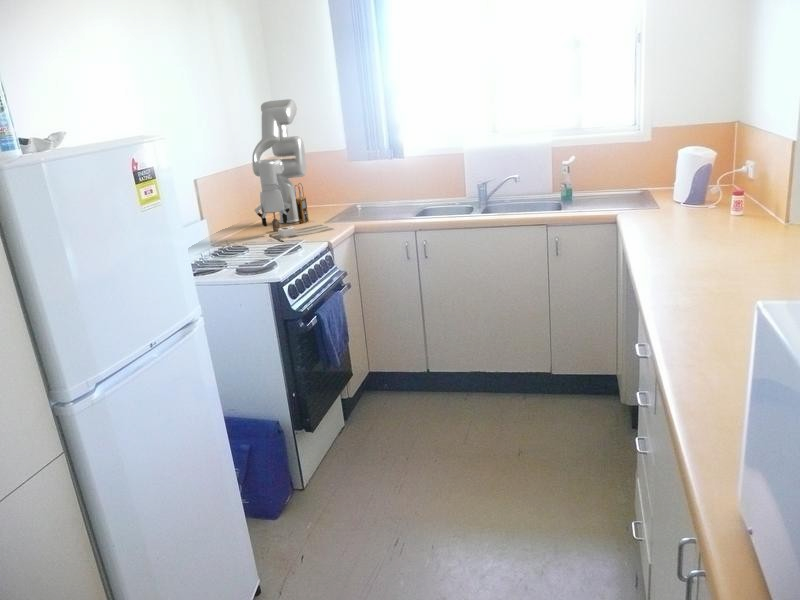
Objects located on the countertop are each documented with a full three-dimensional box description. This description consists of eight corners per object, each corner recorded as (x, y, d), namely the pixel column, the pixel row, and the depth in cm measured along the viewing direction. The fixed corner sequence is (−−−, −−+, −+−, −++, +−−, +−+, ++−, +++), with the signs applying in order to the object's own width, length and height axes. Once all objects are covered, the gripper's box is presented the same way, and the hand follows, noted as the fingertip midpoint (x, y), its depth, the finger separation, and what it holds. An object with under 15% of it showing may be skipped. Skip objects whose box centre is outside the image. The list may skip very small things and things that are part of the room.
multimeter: (315, 225, 323) (310, 184, 317) (296, 227, 326) (290, 186, 320) (325, 219, 337) (319, 180, 331) (306, 221, 339) (301, 181, 333)
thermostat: (278, 235, 303) (277, 228, 302) (291, 232, 306) (290, 226, 305) (283, 237, 298) (282, 230, 297) (296, 234, 301) (295, 227, 300)
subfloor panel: (269, 236, 308) (269, 233, 308) (321, 226, 319) (321, 224, 319) (281, 242, 293) (281, 239, 293) (335, 231, 304) (335, 229, 304)
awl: (273, 233, 314) (269, 211, 311) (279, 232, 316) (275, 210, 313) (275, 234, 312) (271, 211, 309) (281, 233, 313) (277, 210, 310)
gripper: (285, 185, 314) (290, 221, 319) (249, 190, 307) (255, 226, 311) (290, 186, 308) (295, 222, 312) (254, 191, 300) (259, 228, 305)
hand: (275, 224), depth 312 cm, fingers open, 9 cm apart
